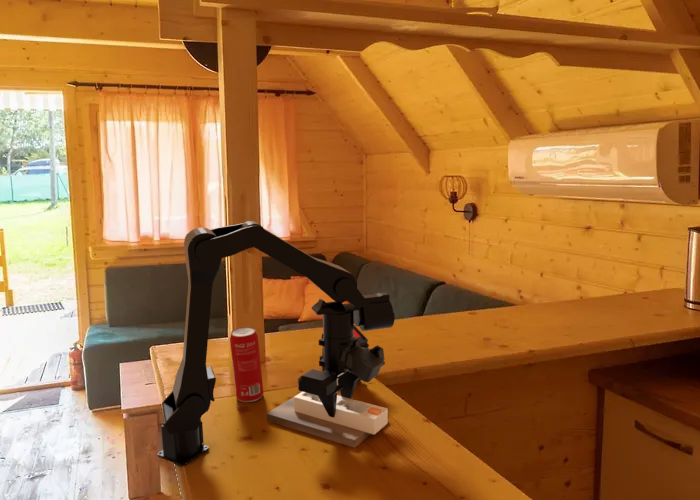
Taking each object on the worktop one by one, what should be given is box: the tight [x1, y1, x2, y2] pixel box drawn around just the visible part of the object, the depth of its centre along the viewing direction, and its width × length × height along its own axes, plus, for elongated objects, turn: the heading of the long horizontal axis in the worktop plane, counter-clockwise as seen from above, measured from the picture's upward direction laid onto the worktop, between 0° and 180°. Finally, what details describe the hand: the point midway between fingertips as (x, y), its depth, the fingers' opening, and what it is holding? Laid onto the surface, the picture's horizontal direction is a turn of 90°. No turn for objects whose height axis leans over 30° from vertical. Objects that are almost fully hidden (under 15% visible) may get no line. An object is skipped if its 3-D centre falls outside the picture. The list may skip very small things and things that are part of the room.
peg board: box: [266, 391, 371, 449], centre depth 119 cm, size 12×20×4 cm, turn 58°
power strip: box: [293, 391, 389, 435], centre depth 117 cm, size 5×18×3 cm, turn 58°
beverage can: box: [229, 326, 265, 403], centre depth 128 cm, size 6×6×15 cm
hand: (339, 411), depth 117 cm, fingers closed on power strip, 5 cm apart
